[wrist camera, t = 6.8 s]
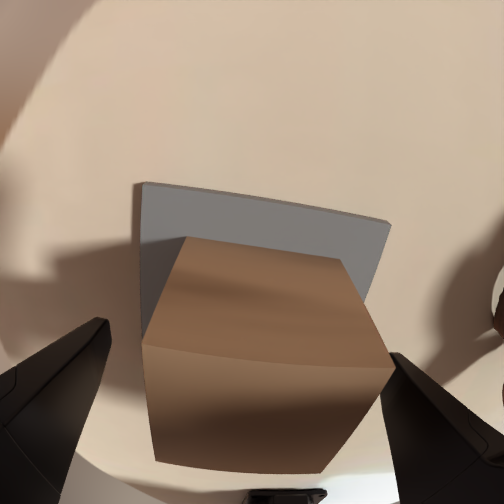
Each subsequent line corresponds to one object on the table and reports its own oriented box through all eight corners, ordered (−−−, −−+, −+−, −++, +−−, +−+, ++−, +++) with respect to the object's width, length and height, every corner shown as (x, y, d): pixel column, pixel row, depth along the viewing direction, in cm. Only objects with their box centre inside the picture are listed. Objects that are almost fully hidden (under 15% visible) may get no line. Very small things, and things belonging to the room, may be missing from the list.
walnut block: (302, 366, 12) (320, 473, 8) (179, 352, 12) (155, 460, 7) (340, 258, 10) (395, 367, 6) (186, 236, 10) (141, 343, 5)
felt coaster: (323, 384, 13) (324, 390, 13) (146, 363, 13) (144, 370, 12) (386, 220, 10) (391, 224, 10) (146, 181, 9) (142, 184, 9)
